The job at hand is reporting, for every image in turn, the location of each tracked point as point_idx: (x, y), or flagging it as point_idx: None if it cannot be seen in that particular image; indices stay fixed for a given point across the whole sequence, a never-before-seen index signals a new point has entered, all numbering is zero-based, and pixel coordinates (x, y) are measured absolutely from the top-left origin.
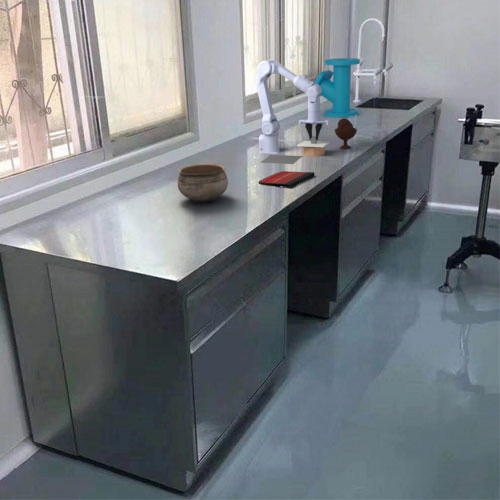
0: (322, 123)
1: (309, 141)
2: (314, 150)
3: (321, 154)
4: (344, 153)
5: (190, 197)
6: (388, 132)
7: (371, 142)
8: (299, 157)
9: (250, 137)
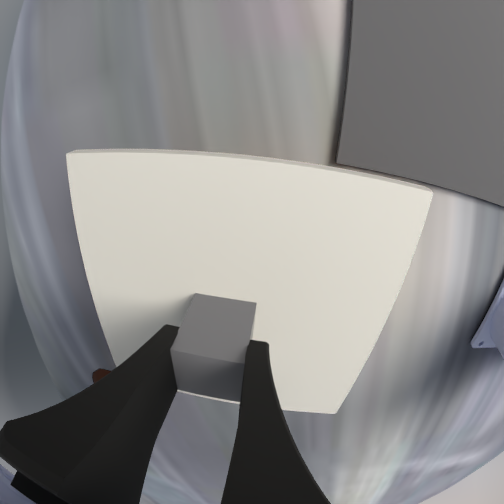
0: (9, 488)
1: (288, 396)
2: None
3: None
4: (69, 291)
5: None
6: None
7: None
8: (359, 104)
9: (482, 458)
